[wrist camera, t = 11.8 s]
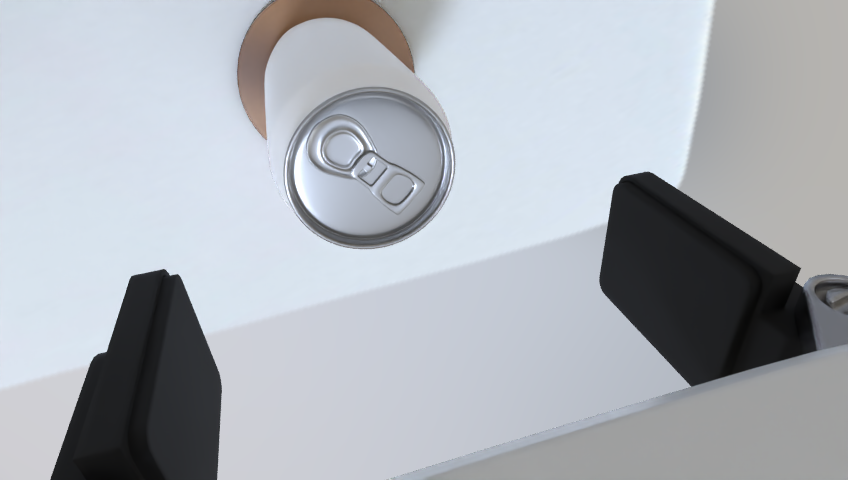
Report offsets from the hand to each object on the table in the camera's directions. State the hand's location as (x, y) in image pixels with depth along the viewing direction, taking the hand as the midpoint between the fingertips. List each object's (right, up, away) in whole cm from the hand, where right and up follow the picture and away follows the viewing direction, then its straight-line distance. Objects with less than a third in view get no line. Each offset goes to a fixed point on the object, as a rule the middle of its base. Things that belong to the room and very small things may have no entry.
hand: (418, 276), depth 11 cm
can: (-5, +9, +16) cm, 19 cm away
